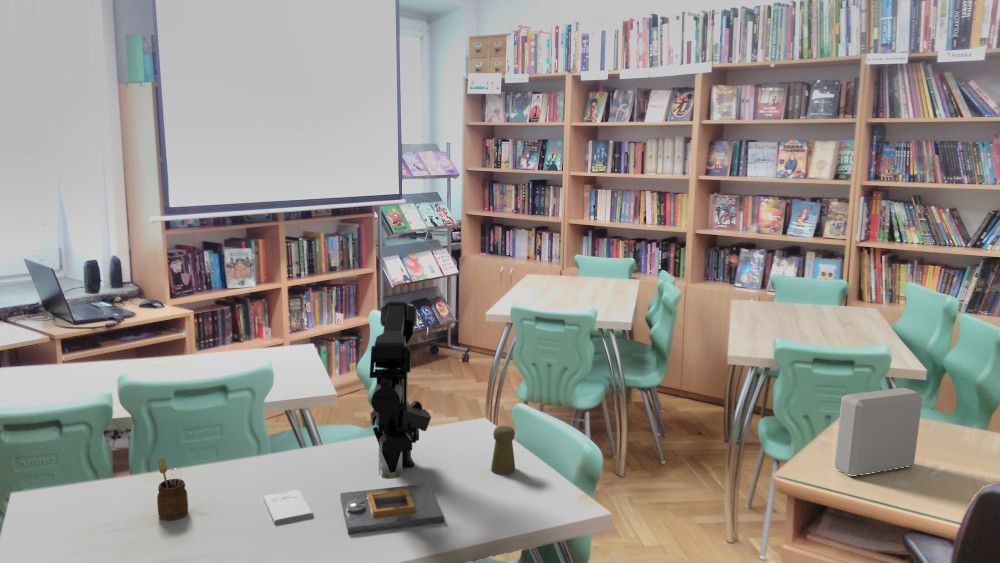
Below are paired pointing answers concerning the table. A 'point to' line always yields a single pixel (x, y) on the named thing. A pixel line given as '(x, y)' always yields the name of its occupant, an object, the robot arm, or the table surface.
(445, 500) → the table surface
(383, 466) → the can
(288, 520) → the external hard drive
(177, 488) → the utensil holder
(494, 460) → the cork
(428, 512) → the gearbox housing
